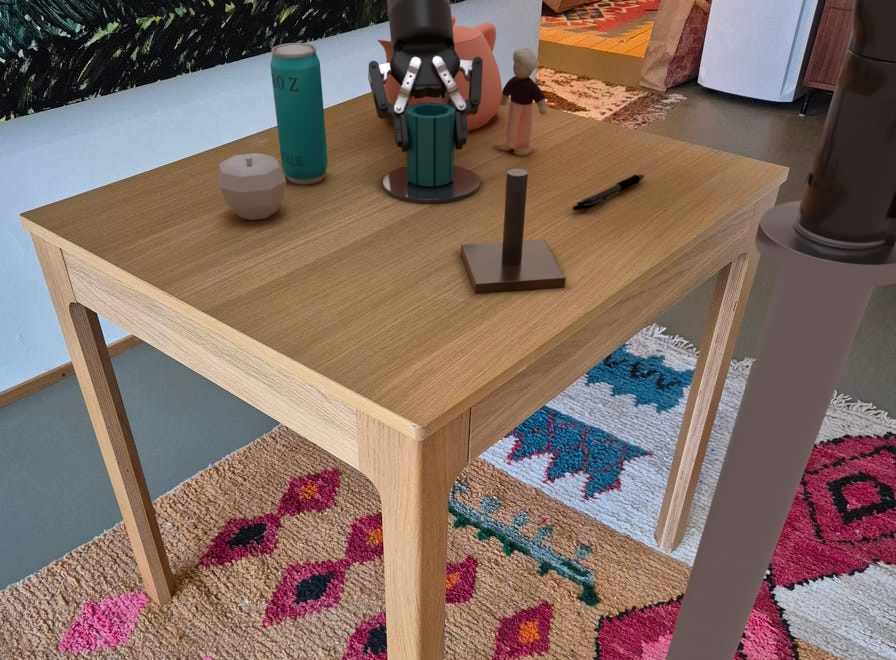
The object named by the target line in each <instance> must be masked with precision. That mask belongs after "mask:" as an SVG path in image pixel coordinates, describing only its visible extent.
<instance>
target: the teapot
mask: <svg viewBox="0 0 896 660" xmlns="http://www.w3.org/2000/svg"><path fill="white" fill-rule="evenodd" d="M451 16H452V27H453V36H454V46H455V51H456V53H457V55H458V56H459V58H460V60H470V61H473V59H474V58H475V57H481V58H482V60H483V67H482V87H481V102H480V104H479V107H478V112H477V114H475V115H471V114H470V115H468V116H466V118H467V128H468V132H469V131H472V130H476V129H478V128H482V127H483V126H485V125H486V124H488V123H489V122H490V121H491V120H492V118H493V117H494V116H495V115H496V114H497V112H498V111H499V109H500V107H501V106H502V105H501V104H500V102H499V101H500V99H501V95H502V91H503V86H502V85H503V84H502V79H501V78H502V77H501V75H500V70H499V66H498V63H497V61H496V58H495V56H494V53H493V52H494V49H495V43H496V38H497V29H496V27H495V24H493V23H490V22H484V23H480V24H478V25H476V26H475V27H467V26H463V25H462V26H461V25H455V24H456V20H457V17H456V16H454V15H451ZM377 42H378V43H379V44H380V45H381V46H382V48H383V50H384V52H385V58H386V63H390V60H391V58H392V46H391V40H384V39H377ZM454 81H455V83H456V84H457V86H458V90H459V93H460V94H461V96H462V98H463V99H464V101H465V100H467V99H469V81H466V80H465V78H464V74H463V73H462V72H461V71H458V73H457V75H456V76H455V78H454ZM384 88H385V92H386V96H387V100H388V102H389V103H392V104H395V103H396V100H397V98H398V95H399V92H400V88H401V86H400V84H399V83H398V82H397V81H396V80H395V79H394V78H393V76H392V75H391V74H389V75H388V76H387V82H386V84H384ZM428 102H429V103H443V101H442V99H441V98H440V97H438V98H432V97H427V96H426V97H423V98H417V99H414V97H413V96H412V99H411V101H410V104H409V106H412V105H416V104H421V103H426V104H427V103H428ZM443 105H444V103H443ZM409 106H408V108H409ZM408 108H407V109H408ZM405 114H406V113H405Z"/></svg>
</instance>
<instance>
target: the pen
mask: <svg viewBox="0 0 896 660" xmlns="http://www.w3.org/2000/svg"><path fill="white" fill-rule="evenodd" d="M644 178H645V175H644V174H643V173H640V174H634V175H632V176H629V177H627V178H625V179H622V180H620V181H618V182H617V183H615V184H614V185H612V186H609V187H608V188H605V189H604V190H601V191H599V192H597V193H595V194H592V195H591V196H588V197H586V198H583V199H581V200H580V201H578V202H576V204H575V205H573V206H572V211H575V212H576V211H582V210H587V209H591V208H595V207H597V206H598V205H599V204H600V203H601V202H602V201H605V200H606V199H607V198H609V197H610V196H613V195H616V194H617V193H621V192H623V191H626V190H627V189H629V188H632V187H633V186H635V185H638V184H639V183H640V182H641V181H643V179H644Z"/></svg>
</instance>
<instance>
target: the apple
mask: <svg viewBox="0 0 896 660" xmlns="http://www.w3.org/2000/svg"><path fill="white" fill-rule="evenodd" d="M217 182H218V185H219V188H220V190H221V193H222V195H223V197H224V200H225V202H226V205H228V207H229V208H230V209H231V210H232V212H233V213H234V214H236V216H238V217H239V218H241V219H244V220H245V219H246V220H249V221H255V220H264V219H267V218H269V217H271V216H272V215H274V214H275V213H276V212H278V210H279V209H280V207H281V205H282V202H283V201H284V198H285V194H286V193H285V192H286V185H287V180H286V177H285V173H284V171H283V168H282V166H281V165H280V162H279V160H278V158H277V157H275V156H274V155H269V154H264V153H259V152H253V153H252V152H251V153H244V154H235V155H233V156H231V157H229V158H227V159H225V160H223V161H221V162H220V163H219V164H218V172H217Z"/></svg>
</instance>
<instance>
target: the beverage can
mask: <svg viewBox="0 0 896 660" xmlns="http://www.w3.org/2000/svg"><path fill="white" fill-rule="evenodd" d="M271 54H272V56H271V59H270V63H269V67H270V74H271V75H270V76H271V83H272V91H273V100H274V101H273V102H274V109H275V116H276V117H275V118H276V125H277V135H278V143H279V144H278V145H279V152H280V161H281V168H282V171H283V173H284V175H285V176H286V178H287V179H288V181H289V182H291V183H293V184H295V185H314V184H316V183H320V182H321V181H322V180H324V178H325V176H326V174H327V173H326V172H327V169H328V165H329V161H328V159H329V158H328V147H327V135H326V121H325V110H324V109H325V108H324V98H323V85H322V72H321V61H320V59H319V57H318V54H317V47H316V46H315V45H314V44H310V43H304V42H289V43H282V44H278V45H275V46H273V47H272V48H271Z"/></svg>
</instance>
